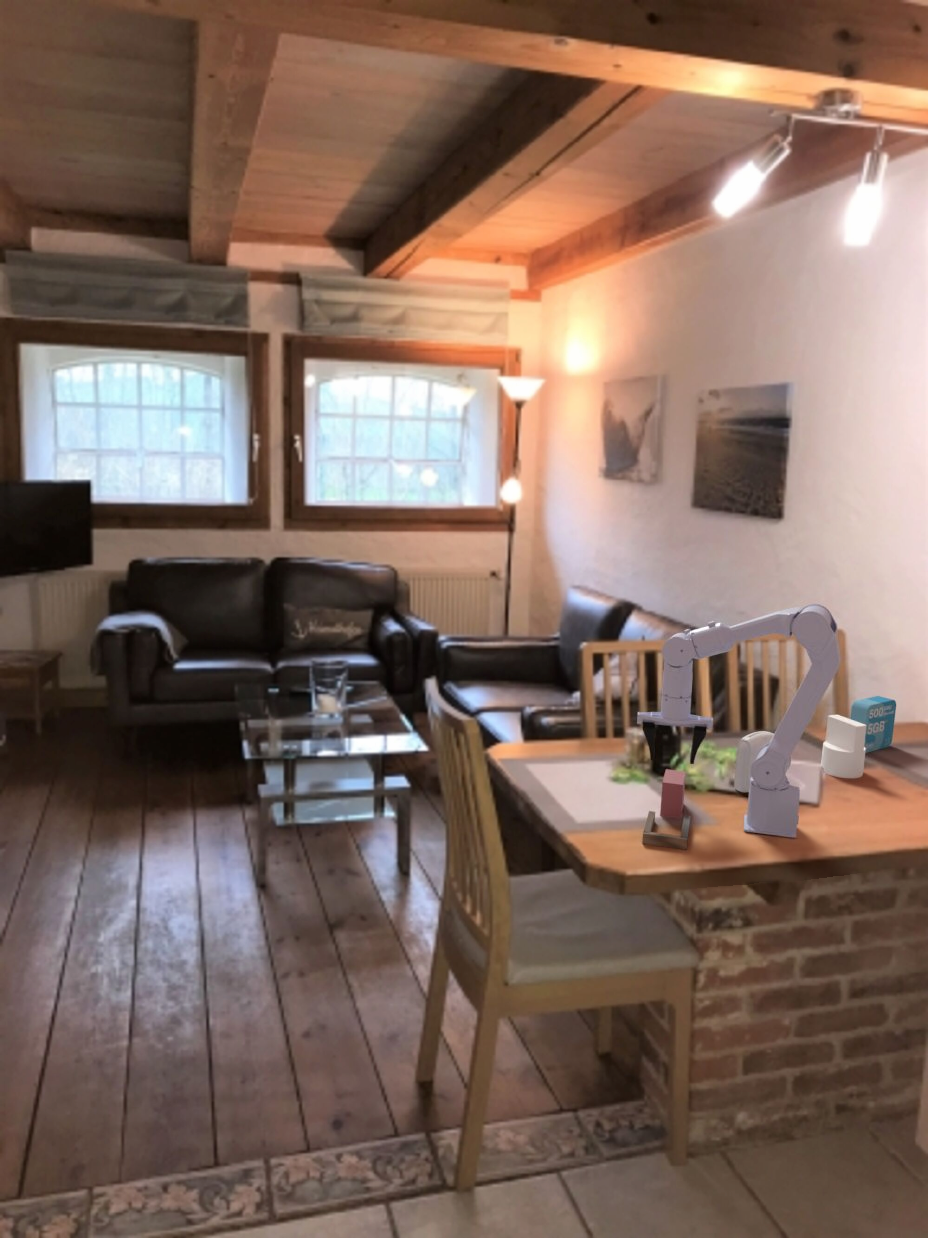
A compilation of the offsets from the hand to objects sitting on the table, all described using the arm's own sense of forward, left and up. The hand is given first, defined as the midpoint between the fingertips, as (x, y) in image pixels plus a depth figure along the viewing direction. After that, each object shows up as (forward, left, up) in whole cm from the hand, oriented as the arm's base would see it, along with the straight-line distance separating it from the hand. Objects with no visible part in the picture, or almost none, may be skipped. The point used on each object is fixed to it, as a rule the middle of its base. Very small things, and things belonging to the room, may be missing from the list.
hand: (672, 760), depth 200 cm
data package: (-44, -58, -11) cm, 74 cm away
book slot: (-1, +13, -10) cm, 16 cm away
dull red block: (-1, 0, -10) cm, 10 cm away
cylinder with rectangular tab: (-36, -37, -11) cm, 53 cm away
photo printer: (-17, -19, -11) cm, 28 cm away
